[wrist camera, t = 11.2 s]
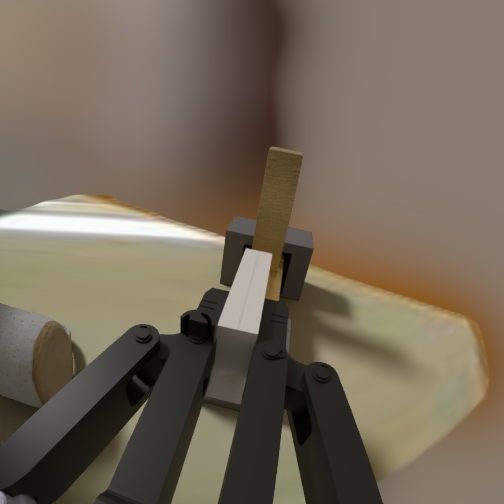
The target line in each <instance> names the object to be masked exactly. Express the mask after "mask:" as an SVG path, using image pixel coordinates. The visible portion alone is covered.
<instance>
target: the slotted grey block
mask: <svg viewBox="0 0 504 504" xmlns="http://www.w3.org/2000/svg"><path fill="white" fill-rule="evenodd" d="M256 221H257V220H252V219H247V218H242V217H237V216H235V218H234V220H233V221H232V223H231V224H230V226H229V227H228V229H227V230H226V237H225V245H224V254H223V262H222V270H221V279H220V283H222V284H226V285H230V286H232V284H233V282H234V279H235V276H236V274H237V271H238V268H239V266H240V263H241V260H242V258H243V255H244V252H245V250H246V248H247V249H250V248H251V246H252V244H253V238H254V233H255V227H256ZM313 249H314V248H313V238H312V232H308V231H304V230H299V229H295V228H290V227H288V229H287V234H286V238H285V243H284V247H283V251H282V252H285V255H284V263H283V272H282V280H281V287H280V295H279V296H281V297H286V298H291V299H296V300H299V297H300V294H301V290H302V287H303V284H304V280H305V277H306V274H307V270H308V267H309V263H310V260H311V256H312V253H313Z"/></svg>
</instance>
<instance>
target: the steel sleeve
mask: <svg viewBox="0 0 504 504" xmlns="http://www.w3.org/2000/svg"><path fill="white" fill-rule="evenodd" d="M290 332H291V319H288V324H287V340H286V350H287V352H288V354H289V345H290ZM245 383H246V378H243V377H239V376H234V375H229V374H225V373H221V372H217V371H213V368H212V371H211V376H210V383H209V386H208V389H207V392H206V395H205V398H204V401H203V402H207V403H211V404H214V405H218V406H222V407H227V408H231V409H235V410H240V405H241V400H242V395H243V391H244V387H245Z"/></svg>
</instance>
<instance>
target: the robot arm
mask: <svg viewBox="0 0 504 504" xmlns="http://www.w3.org/2000/svg"><path fill="white" fill-rule="evenodd" d="M271 259H272V254H271V253H267V252H262V251H257V250H252V249H247V248H246V250H245V252H244V255H243V258H242V260H241V263H240V266H239V268H238V271H237V274H236V276H235V279H234V282H233V284H232V287H231V290H230V292H229V291H224V290H220V289H215V288H211V289H210V290H208V291H207V292H206V293H205V294H204V296H203V298H202V301H201V302H200V304H199V306H198V308H197V310H190V311H187V312H185V313H184V314H183V315H182V316H181V333H178V334H173V335H163V334H159V332H158V330H157V329H156V328H154V327H153V326H150V325H147V324H140V325H135V326H133V327H132V328H130V329H129V330H128V331H127V332H125V333H124V334H123V335H122V336H121V337H120V338H119V339H117V340H116V341H115V342H114V343H113V344H112V345H110V346H109V347H108V348H107V349H106V350H105V351H104V352H102V353H101V354H100V355H99V356H98V357H97V358H96V359H95V360H93V361H92V362H91V363H90V364H89V365H88V366H87V367H85V368H84V369H83V370H82V371H81V372H80V373H79V374H78V375H76V376H75V377H74V378H73V379H72V380H71V381H70V382H69V383H68V384H66V385H65V386H64V387H63V388H62V389H61V390H60V391H59V392H58V393H56V394H55V395H54V396H53V397H52V398H51V399H50V400H49V401H48V402H47V403H46V404H44V405H43V406H42V407H41V408H40V409H39V410H38V411H37V412H36V413H35V414H34V415H32V416H31V417H30V418H29V419H28V420H27V421H26V422H25V423H24V424H23V425H22V426H21V427H20V428H19V429H18V430H16V431H15V432H14V433H13V434H12V435H11V436H10V437H9V438H8V439H7V440H6V441H5V442H4V443H3V444H2V445H1V446H0V504H52V503H53V502H55V501H56V500H57V499H58V498H59V497H60V496H61V495H62V494H64V492H65V491H66V490H67V489H68V488H69V487H70V486H71V485H72V484H73V483H74V482H75V480H76V479H77V478H78V477H79V476H80V475H81V474H82V473H83V472H84V471H85V469H86V468H87V467H88V466H89V465H90V464H91V463H92V462H93V461H94V459H95V458H96V457H97V456H98V455H99V454H100V453H101V452H102V450H103V449H104V448H105V447H106V446H107V445H108V444H109V443H110V441H111V440H112V439H113V438H114V437H115V436H116V435H117V434H118V432H119V431H120V430H121V429H122V428H123V427H124V426H125V425H126V423H127V422H128V421H129V420H130V419H131V418H132V417H133V415H134V414H135V413H136V412H137V411H138V410H139V409H140V407H141V406H142V405H143V404H144V403H145V402H146V400H147V399H148V398H149V399H148V401H147V403H146V405H145V407H144V409H143V412H142V414H141V416H140V418H139V420H138V422H137V425H136V427H135V429H134V431H133V433H132V435H131V438H130V440H129V442H128V444H127V447H126V449H125V451H124V453H123V455H122V458H121V460H120V462H119V464H118V467H117V469H116V471H115V474H114V476H113V478H112V481H111V483H110V485H109V487H108V489H107V490H106V491H105V492H103V493H102V494H100V495H99V496H98V497H97V498H96V500H95V502H94V504H171V502H172V498H173V495H174V492H175V489H176V486H177V483H178V480H179V477H180V473H181V470H182V467H183V464H184V461H185V458H186V455H187V451H188V448H189V445H190V442H191V439H192V436H193V433H194V429H195V426H196V423H197V420H198V417H199V414H200V411H201V408H202V404H203V401H204V398H205V395H206V392H207V389H208V386H209V383H210V376H211V371H212V368H213V371H217V372H221V373H225V374H229V375H234V376H239V377H243V378H246V383H245V387H244V391H243V395H242V400H241V405H240V410H239V414H238V419H237V423H236V428H235V432H234V437H233V441H232V445H231V450H230V454H229V459H228V463H227V467H226V471H225V476H224V480H223V484H222V488H221V492H220V497H219V501H218V504H273V497H274V490H275V482H276V474H277V466H278V458H279V449H280V440H281V431H282V421H283V411H284V409H286V410H287V414H288V418H289V423H290V428H291V433H292V438H293V443H294V447H295V452H296V457H297V462H298V467H299V471H300V476H301V481H302V486H303V491H304V496H305V500H306V504H383V502H382V499H381V496H380V493H379V489H378V486H377V483H376V480H375V477H374V474H373V471H372V468H371V465H370V462H369V459H368V456H367V453H366V451H365V448H364V445H363V442H362V439H361V436H360V433H359V431H358V428H357V425H356V422H355V419H354V417H353V414H352V411H351V409H350V406H349V403H348V400H347V398H346V395H345V392H344V390H343V387H342V384H341V382H340V379H339V376H338V374H337V372H336V371H335V369H334V368H333V367H331V366H330V365H328V364H326V363H322V362H315V363H311V364H310V365H308V366H306V365H303V364H301V363H299V362H297V361H295V360H294V359H293V358H291V357H290V355H289V354H288V352H287V350H286V340H287V324H288V308H287V306H286V304H285V302H281V301H275V300H270V299H266V298H265V293H266V287H267V282H268V276H269V270H270V265H271Z"/></svg>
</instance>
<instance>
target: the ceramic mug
mask: <svg viewBox="0 0 504 504" xmlns="http://www.w3.org/2000/svg"><path fill="white" fill-rule="evenodd" d="M71 345H72V343H71V333H70V330H69V328H68V327H66V326H65V325H63V324H61V323H58V322H56V321H54V320H52V319H50V318H48V317H45V316H42V315H39V314H34V313H30V312H26V311H23V310H20V309H17V308H13V307H10V306H7V305H4V304H2V303H0V395H2V396H5V397H7V398H10V399H13V400H16V401H19V402H22V403H24V404H27V405H29V406H33V407H37V408H41V407H42V406H43V405H44V404H46V403H47V402H48V401H49V400H50V399H51V398H52V397H53V396H54V395H55V394H56V393H58V392H59V391H60V390H61V389H62V388H63V387H64V386H65V385H66V384H68V383H69V382H70V381H71V380H72V375H73V355H72V347H71Z"/></svg>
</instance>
